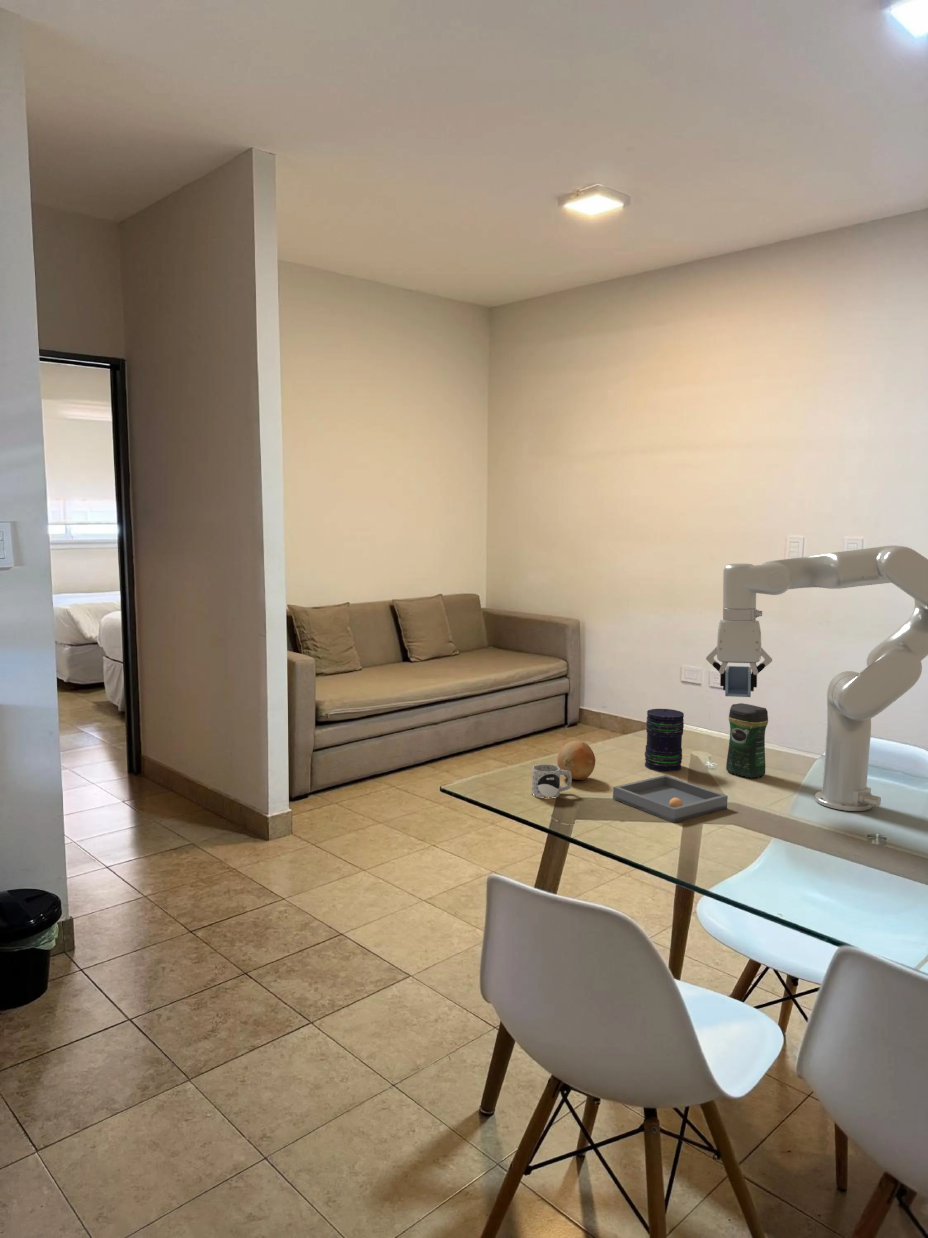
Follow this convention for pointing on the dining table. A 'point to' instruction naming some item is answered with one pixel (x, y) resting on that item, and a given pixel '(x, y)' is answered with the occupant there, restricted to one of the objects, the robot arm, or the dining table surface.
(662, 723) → the storage jar
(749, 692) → the blue open box
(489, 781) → the dining table surface
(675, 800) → the ball
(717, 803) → the tray
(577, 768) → the onion
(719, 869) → the dining table surface
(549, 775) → the mug
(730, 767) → the coffee jar
